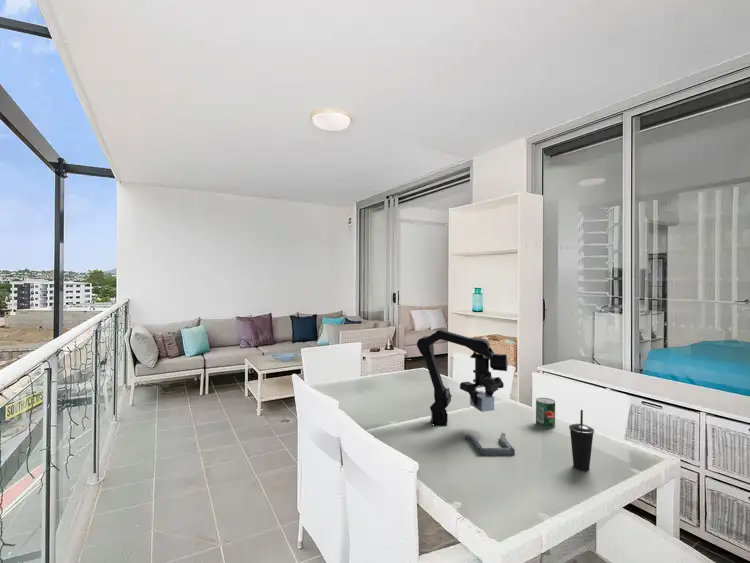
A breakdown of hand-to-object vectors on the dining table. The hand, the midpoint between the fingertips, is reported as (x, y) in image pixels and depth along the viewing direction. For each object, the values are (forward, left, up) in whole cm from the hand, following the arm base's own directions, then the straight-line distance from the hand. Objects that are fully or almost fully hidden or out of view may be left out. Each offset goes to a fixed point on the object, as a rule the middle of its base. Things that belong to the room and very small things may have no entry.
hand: (481, 404), depth 163 cm
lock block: (0, 0, -1) cm, 1 cm away
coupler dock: (-1, -16, -11) cm, 19 cm away
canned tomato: (+30, +5, -11) cm, 32 cm away
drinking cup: (+25, -32, -11) cm, 42 cm away
